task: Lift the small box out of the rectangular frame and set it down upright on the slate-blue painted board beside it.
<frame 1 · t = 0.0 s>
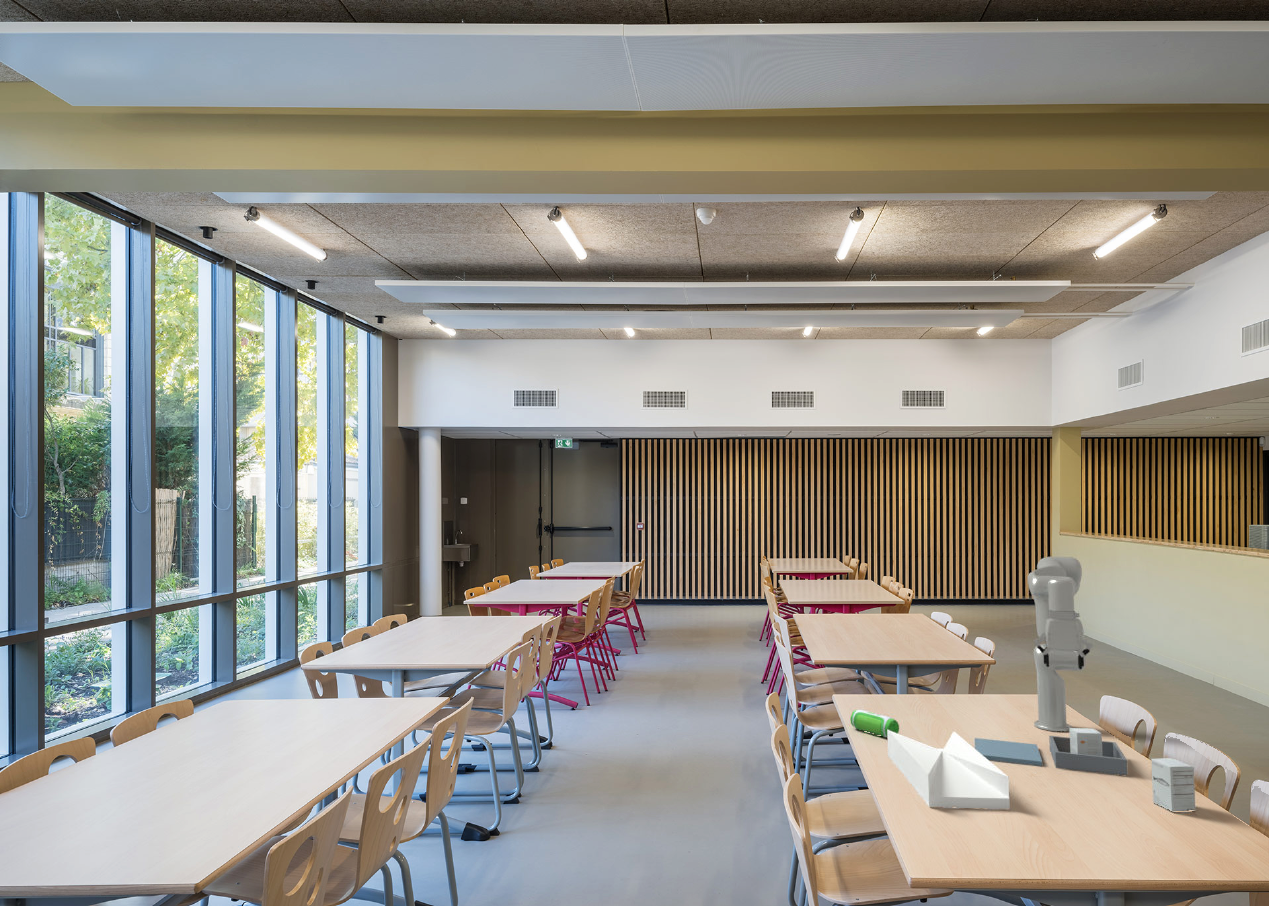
hand: (1063, 667, 260), 31 cm above the table, tool pointing down, fingers open, 9 cm apart
supplement box: (1174, 808, 219), on the table
board: (1006, 753, 267), on the table
small box: (1086, 763, 258), resting in rectangular frame
speaker: (874, 734, 291), on the table
building model: (943, 782, 241), on the table
rectangular frame: (1086, 762, 258), on the table
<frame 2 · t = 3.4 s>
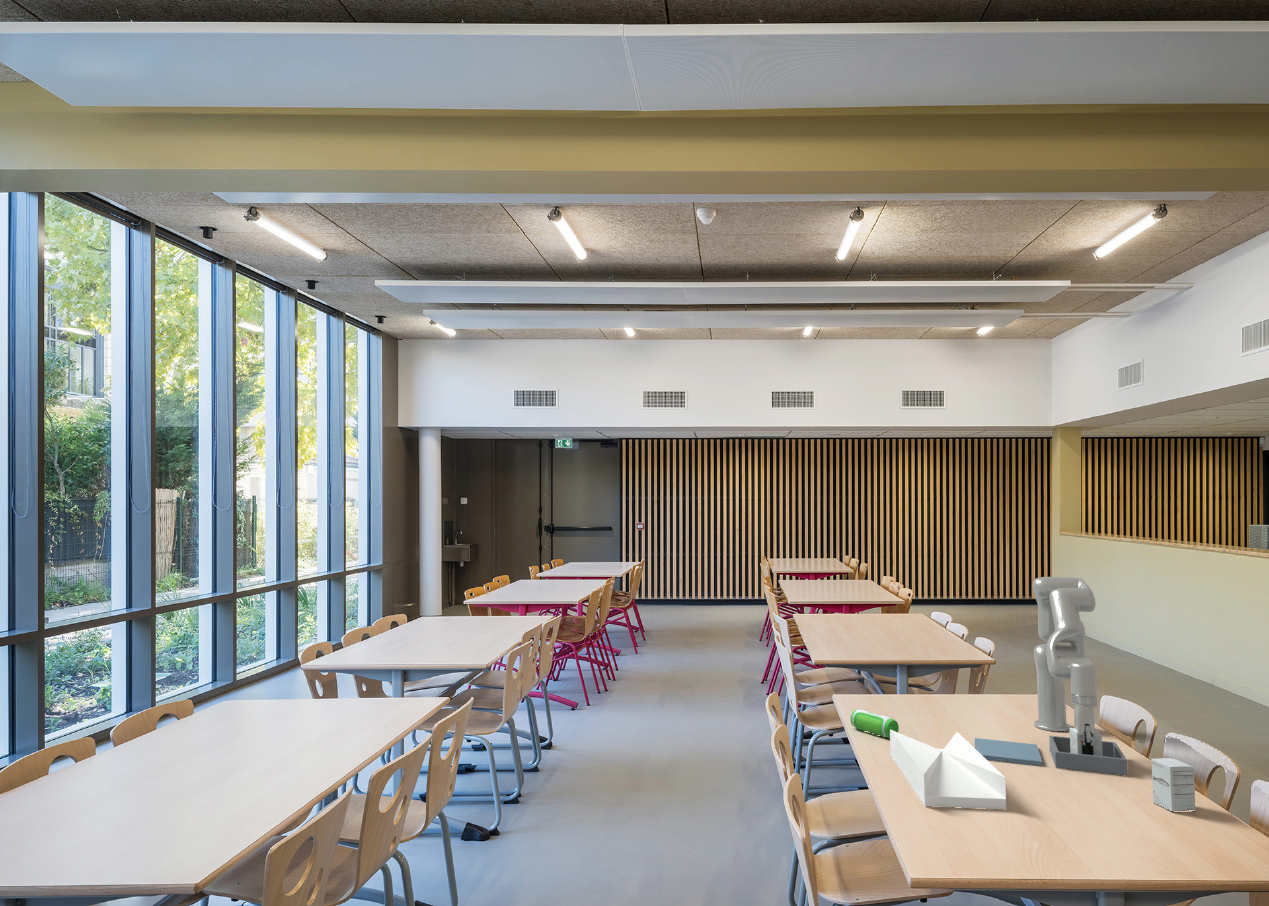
hand: (1086, 753, 258), 3 cm above the table, tool pointing down, fingers closed on small box, 6 cm apart
small box: (1086, 763, 258), resting in rectangular frame, touching gripper
when the fingers open (6 cm above the table, at t = 11.0 s): small box drops 2 cm, resting on board.
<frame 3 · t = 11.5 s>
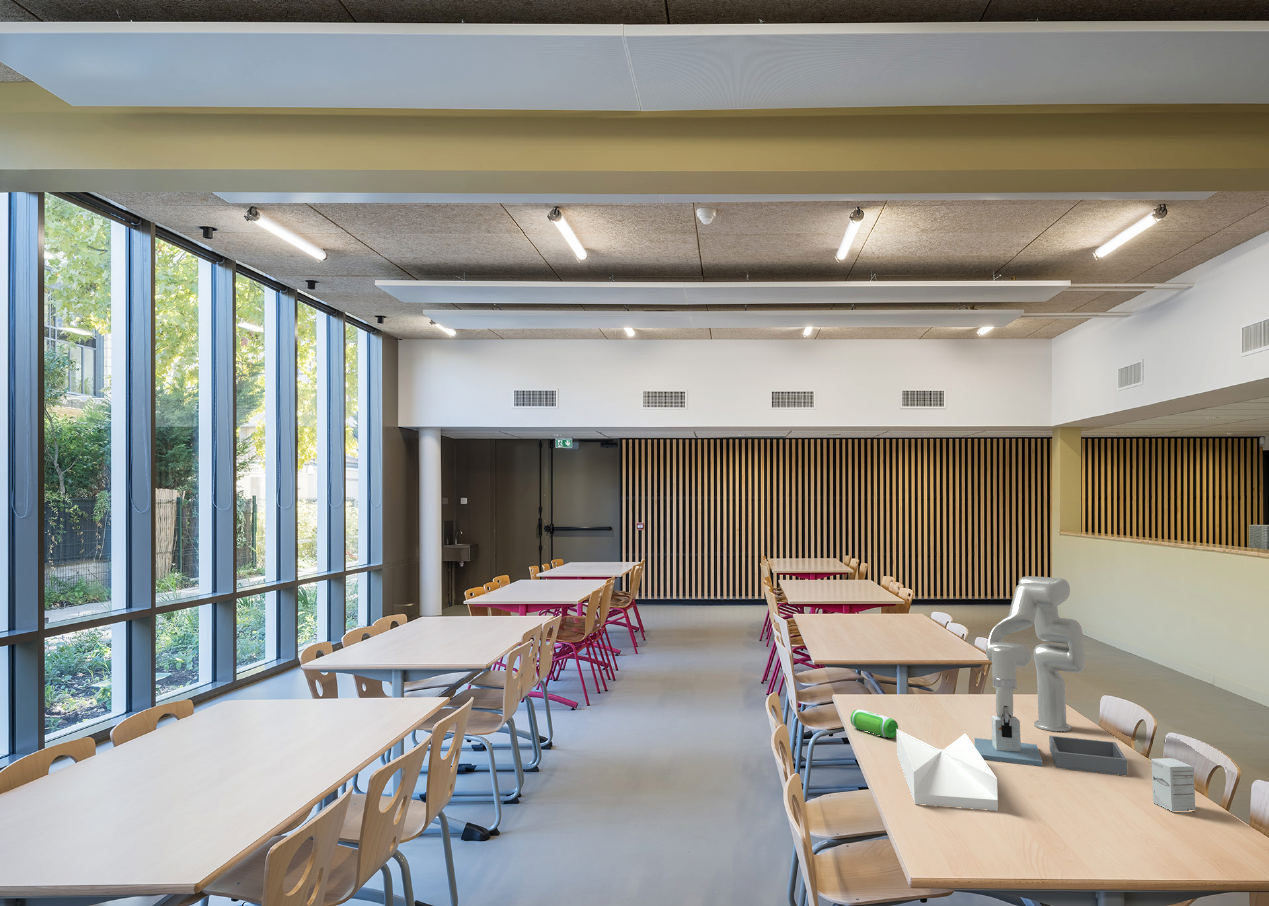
hand: (1006, 733, 268), 7 cm above the table, tool pointing down, fingers open, 9 cm apart
small box: (1006, 749, 268), point 1 cm above the table, touching board
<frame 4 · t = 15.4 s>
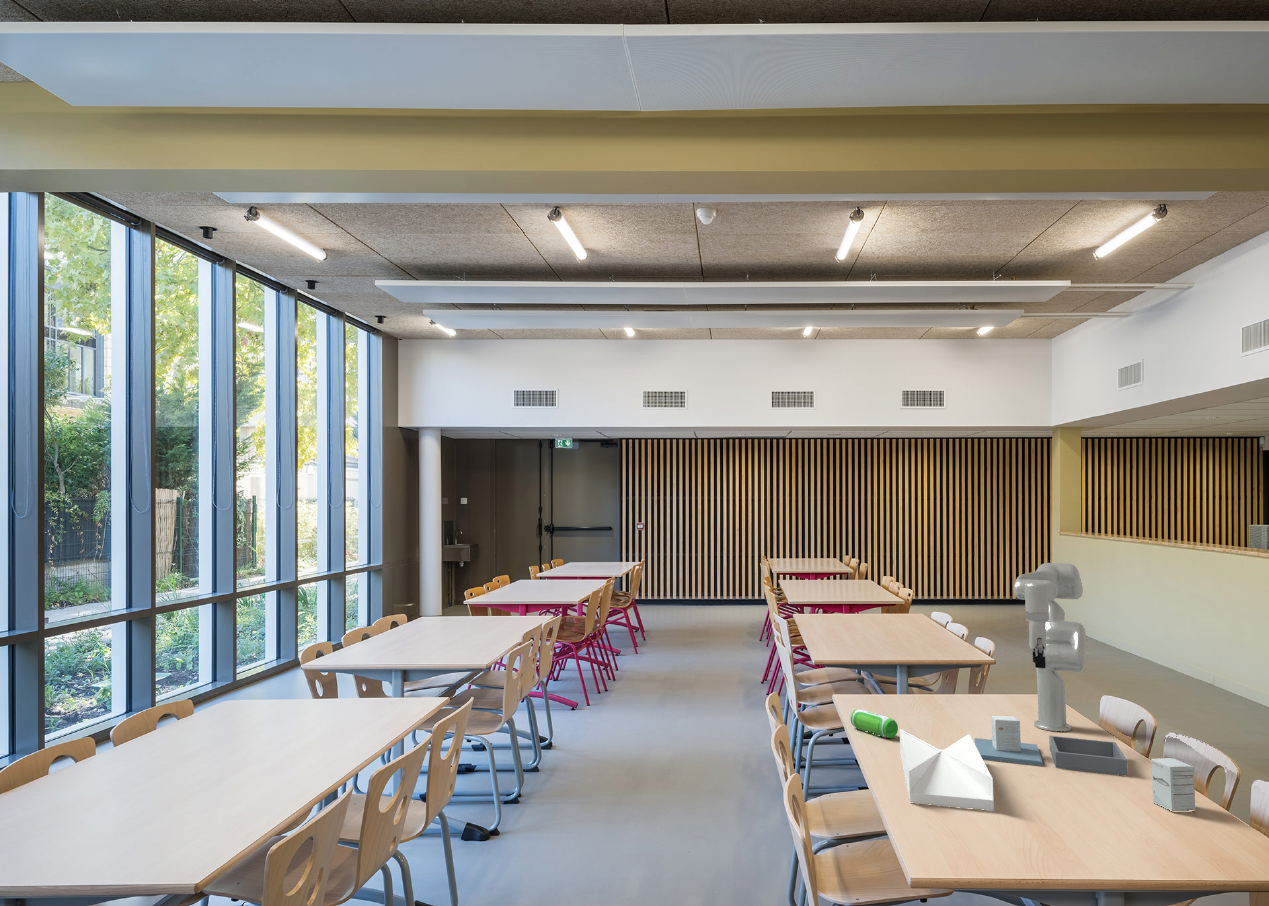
hand: (1039, 665, 277), 28 cm above the table, tool pointing down, fingers open, 9 cm apart
at the end: small box inside the target area on the board (0.3 cm from its centre), point 1.3 cm above the board's base; small box tilted 0°; the gripper is holding nothing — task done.
